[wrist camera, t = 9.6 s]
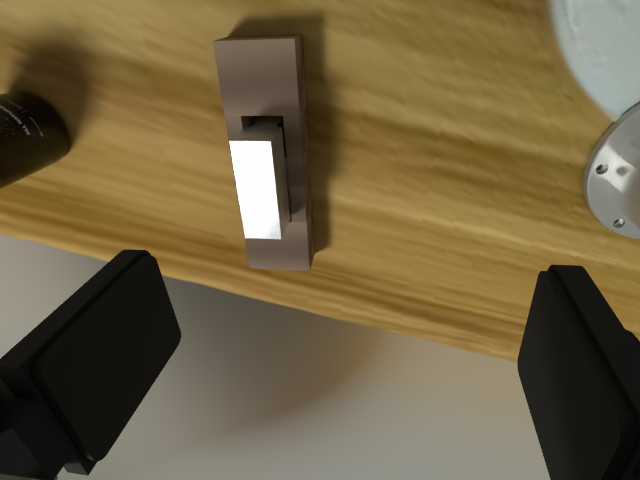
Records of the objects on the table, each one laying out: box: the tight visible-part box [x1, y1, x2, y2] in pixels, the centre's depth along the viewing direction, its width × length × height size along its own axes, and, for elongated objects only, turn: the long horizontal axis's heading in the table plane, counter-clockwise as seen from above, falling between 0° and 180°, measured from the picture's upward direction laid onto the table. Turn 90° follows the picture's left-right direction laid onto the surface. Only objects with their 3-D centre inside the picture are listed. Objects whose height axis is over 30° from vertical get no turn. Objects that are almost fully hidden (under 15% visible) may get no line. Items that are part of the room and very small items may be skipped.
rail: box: [213, 35, 314, 271], centre depth 35 cm, size 20×6×3 cm, turn 2°
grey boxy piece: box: [230, 116, 291, 239], centre depth 33 cm, size 8×3×7 cm, turn 2°
